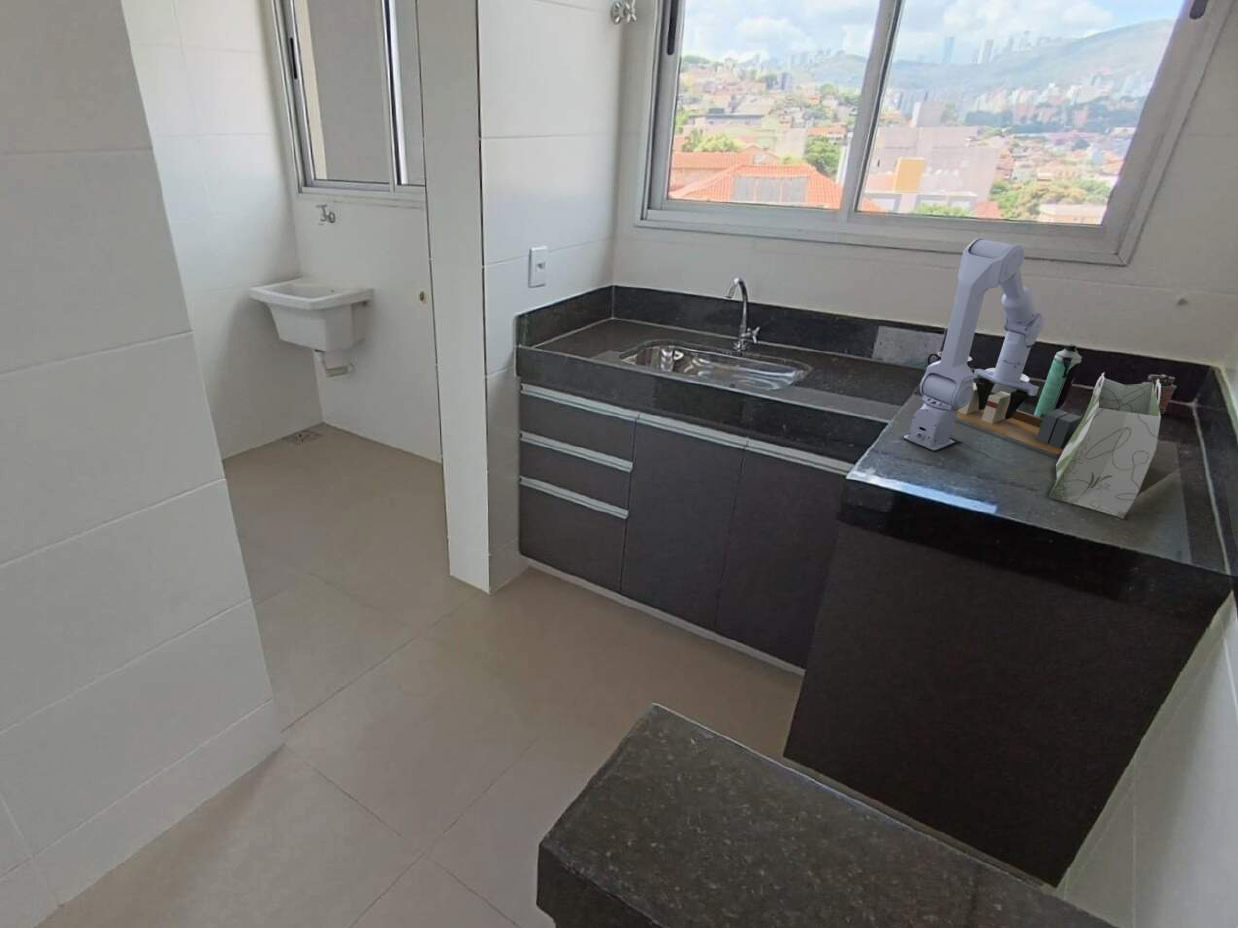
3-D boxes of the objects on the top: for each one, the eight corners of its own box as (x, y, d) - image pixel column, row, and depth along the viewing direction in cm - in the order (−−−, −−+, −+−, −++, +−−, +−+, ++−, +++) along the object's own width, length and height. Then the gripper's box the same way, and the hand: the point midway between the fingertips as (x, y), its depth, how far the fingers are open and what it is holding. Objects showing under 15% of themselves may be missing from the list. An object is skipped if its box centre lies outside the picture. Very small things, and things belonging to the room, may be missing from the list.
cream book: (991, 424, 164) (999, 399, 161) (980, 420, 166) (988, 395, 163) (1004, 419, 167) (1012, 394, 164) (993, 415, 169) (1001, 391, 166)
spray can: (1060, 428, 166) (1090, 349, 157) (1036, 425, 167) (1064, 347, 158) (1052, 419, 171) (1080, 343, 162) (1029, 417, 172) (1056, 340, 163)
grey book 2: (1060, 448, 153) (1070, 422, 150) (1048, 444, 154) (1058, 418, 151) (1072, 442, 156) (1082, 417, 153) (1060, 438, 158) (1070, 413, 155)
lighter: (1159, 409, 181) (1175, 374, 177) (1167, 414, 178) (1184, 378, 174) (1128, 407, 182) (1143, 371, 178) (1135, 412, 179) (1151, 376, 174)
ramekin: (1029, 402, 182) (1035, 383, 179) (985, 397, 184) (991, 378, 181) (1016, 388, 192) (1022, 370, 189) (974, 383, 193) (980, 366, 191)
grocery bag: (1061, 446, 157) (1098, 350, 147) (1132, 464, 150) (1176, 365, 140) (1043, 498, 134) (1086, 389, 123) (1126, 523, 127) (1179, 409, 116)
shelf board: (1055, 458, 150) (1060, 446, 149) (928, 411, 172) (931, 400, 171) (1083, 444, 158) (1087, 433, 156) (958, 401, 180) (961, 390, 178)
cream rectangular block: (966, 414, 168) (973, 390, 165) (956, 411, 170) (963, 387, 167) (978, 410, 172) (986, 386, 169) (968, 406, 174) (976, 383, 171)
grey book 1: (1047, 443, 155) (1056, 417, 152) (1035, 439, 156) (1044, 413, 154) (1059, 438, 158) (1068, 412, 155) (1047, 434, 160) (1056, 408, 157)
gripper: (1051, 366, 157) (1032, 420, 163) (990, 349, 167) (974, 401, 173) (1037, 371, 153) (1018, 426, 159) (975, 353, 163) (960, 406, 169)
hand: (994, 413), depth 166 cm, fingers open, 6 cm apart
